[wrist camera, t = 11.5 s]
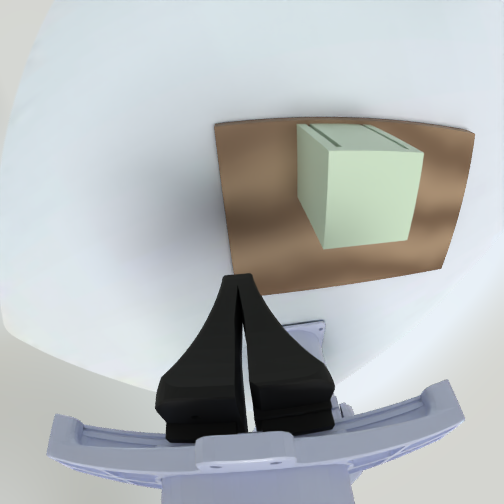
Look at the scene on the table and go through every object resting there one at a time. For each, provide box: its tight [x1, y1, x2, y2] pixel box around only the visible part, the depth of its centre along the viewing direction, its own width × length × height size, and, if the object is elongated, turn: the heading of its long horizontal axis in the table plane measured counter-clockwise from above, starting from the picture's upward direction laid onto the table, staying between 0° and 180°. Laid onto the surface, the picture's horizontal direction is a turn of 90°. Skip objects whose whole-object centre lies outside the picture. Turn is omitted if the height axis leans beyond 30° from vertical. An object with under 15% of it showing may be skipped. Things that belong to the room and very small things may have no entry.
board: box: [214, 117, 475, 296], centre depth 22 cm, size 15×22×1 cm
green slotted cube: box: [297, 124, 424, 249], centre depth 16 cm, size 5×5×7 cm
